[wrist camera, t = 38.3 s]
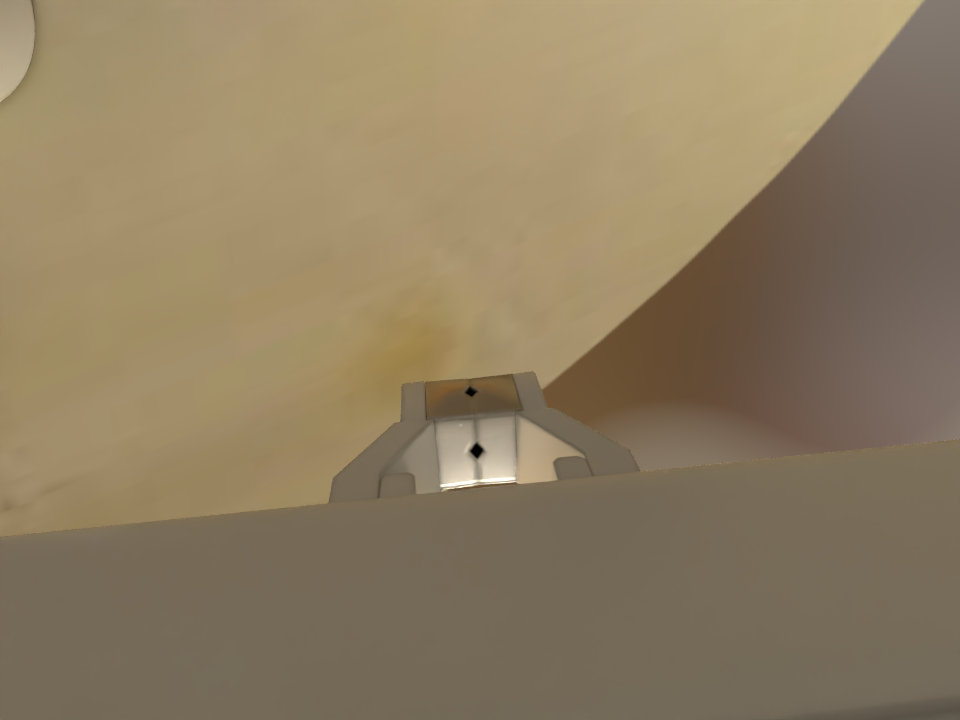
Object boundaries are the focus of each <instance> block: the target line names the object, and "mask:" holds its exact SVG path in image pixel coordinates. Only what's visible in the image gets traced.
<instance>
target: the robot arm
mask: <svg viewBox="0 0 960 720" xmlns="http://www.w3.org/2000/svg"><path fill="white" fill-rule="evenodd" d="M34 44H35V19H34V11H33V6H32V1H31V0H0V102H1V101H2V100H4V99H5V98H7V97H8V96H9V95H10V94H11V93H12V92H13V91H14V90H15V89H16V88H17V87H18V85H19V84H20V83H21V81H22V80H23V78H24V76H25V74H26V72H27V70H28V68H29V65H30V63H31V59H32V56H33V51H34ZM511 482H518V484H515V485H506V486H495V487H485V488H476V489H465V490H456V491H446V492H441V490H443V489H451V488H458V487H466V486H474V485H484V484H496V483H511ZM0 720H960V439H959V440H948V441H938V442H929V443H918V444H909V445H899V446H890V447H879V448H869V449H859V450H849V451H840V452H831V453H820V454H810V455H800V456H790V457H780V458H771V459H761V460H751V461H741V462H732V463H722V464H711V465H702V466H692V467H682V468H672V469H664V470H663V469H662V470H653V471H643V472H641V471H640V469H639V467H638V465H637V463H636V461H635V460H634V457H633V455H632V453H631V451H630V450H629V449H628V448H626V447H624V446H622V445H621V444H619V443H617V442H615V441H613V440H611V439H610V438H608V437H606V436H604V435H602V434H600V433H599V432H597V431H595V430H593V429H591V428H589V427H588V426H586V425H584V424H582V423H580V422H578V421H577V420H575V419H573V418H571V417H569V416H567V415H565V414H564V413H562V412H560V411H558V410H556V409H555V408H548V407H547V405H546V402H545V399H544V396H543V394H542V391H541V388H540V385H539V382H538V380H537V377H536V374H535V373H534V372H533V371H532V372H524V373H517V374H507V375H498V376H489V377H481V378H472V379H469V378H468V379H454V380H440V381H426V382H425V383H424V381H422V382H413V383H404V384H402V386H401V420H400V422H399V423H394V424H393V425H392V426H391V427H389V428H388V429H387V430H386V431H385V432H384V433H383V434H382V435H381V436H379V437H378V438H377V439H376V440H375V441H374V442H373V443H372V444H371V445H369V446H368V447H367V448H366V449H365V450H364V451H363V452H362V453H361V454H359V455H358V456H357V457H356V458H355V459H354V460H353V461H352V462H351V463H349V464H348V465H347V466H346V467H345V468H344V469H343V470H342V471H341V472H339V473H338V474H337V475H336V476H335V477H334V478H333V481H332V486H331V492H330V498H329V503H327V504H317V505H307V506H297V507H288V508H278V509H268V510H258V511H249V512H239V513H229V514H219V515H210V516H200V517H190V518H181V519H171V520H161V521H151V522H141V523H131V524H121V525H111V526H101V527H92V528H82V529H72V530H62V531H52V532H42V533H32V534H22V535H12V536H2V537H0Z"/></svg>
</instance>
